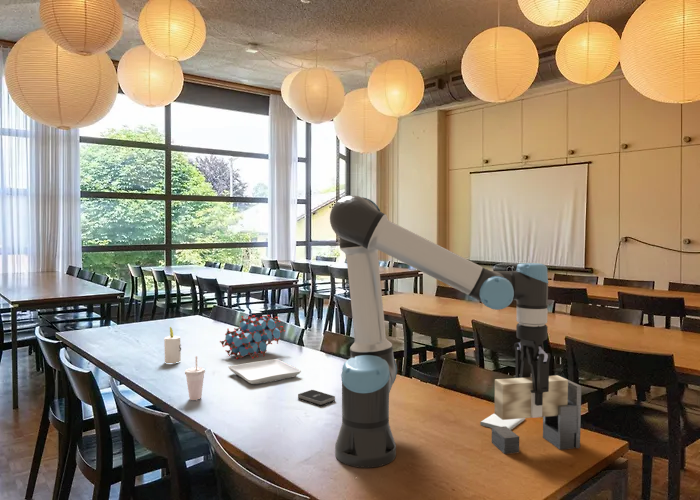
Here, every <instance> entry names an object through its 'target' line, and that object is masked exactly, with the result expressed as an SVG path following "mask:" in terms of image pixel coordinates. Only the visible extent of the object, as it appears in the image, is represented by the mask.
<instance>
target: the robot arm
mask: <svg viewBox="0 0 700 500" xmlns="http://www.w3.org/2000/svg"><path fill="white" fill-rule="evenodd" d="M329 223H330V226H331V229H332V230H333V232H334V233H335V234H336V235H337V236H338V241H339V249H340V251H342V252H343V253H344V254H345V256H346V265H347V276H348V285H349V294H350V295H349V296H350V305H351V315H352V316H351V317H352V324H353V336H354V337H353V338H354V342H353V343H352V344H351V346H350V348H349V352H350V358H348V359H347V360H345V362H344V363H343V365H342V368H341V369H342V370H341V374H340V376H341V418H342V419H341V425H340V428H339V432H338V436H337V438H336V441H335V447H334V455H335V458H336V459H337V460H338V461H339V462H341V463H342V464H345V465H347V466H351V467H355V468H378V467H382V466H386V465H388V464H390V463H392V462H393V461H394V460H395V459H396V456H397V445H396V441H395V440H394V439H395V438H394V435H393V433H392V429H391V426H390V393H391V390H392V387H393V385H394V383H395V381H396V378H397V374H398V366H397V362H396V360H395V357H394V350H393V349H394V348H393V343H392V342H390V340H388V339H387V335H386V325H385V323H386V321H385V314H384V303H383V295H382V284H381V283H382V281H381V274H380V273H381V272H380V263H379V251H380V252H381V253H383V254H385V255H388V256H390V257H391V258H394V259H396V260H397V261H400V262H402V263H404V264H406V265H408V266H409V267H412V268H413V269H415V270H417V271H420V272H421V273H423V274H426V275H428V276H429V277H431V278H433V279H436V280H437V281H440V282H442V283H443V284H446V285H447V286H450V287H452V288H453V289H455V290H458V291H459V292H461V293H463V294H465V295H468V296H469V297H470V299H472V300H477V301H479V302H480V303H482V304H483V306H485V307H487V308H489V309H492V310H494V311H495V310H499V311H500V310H503V309H506V308H508V307H509V306H510V305H511V304H512V302H513V301H516V317H515V318H516V322H517V324H516V327H515V328H516V331H515V332H516V338H517V339H519V340H520V341H519V342H515V343H514V346H513V347H514V350H515V378H525V377H532V384H533V390H530V391H531V417H532V418H536V419H537V418H543V417H542V404H543V392H548V391H549V376H550V360H551V358H552V355H551V353H549V352H547V353H546V351H544V350H545V349H544V342H545V341H546V340H547V339H548V330H549V329H548V325H547V324H548V313H549V311H548V304H549V303H548V298H549V277H548V276H549V273H548V266H547V265H545V264H544V263H537V262H536V263H535V262H526V263H525V262H523V263H522V262H520V263H518V264H517V265H516V270H509V271H508V270H507V271H506V270H504V271H503V270H489V269H487V268H485V267H483V266H481V265H479V264H477V263H476V262H474V261H471V260H469V259H467V258H466V257H463V256H462V255H459V254H457V253H455V252H453V251H451V250H449V249H447V248H445V247H442V246H441V245H439V244H437V243H436V242H433V241H431V240H428V239H426V238H424V237H423V236H421V235H419V234H417V233H415V232H413V231H411V230H409V229H406V228H405V227H404V226H403V227H402V226H401V225H399V224H396V223H394V222H393V221H390V220H389V219H388V215H387V214H386V213H384V212H382V211H381V209H380V207H379V206H378V204H376V202H374V201H373V200H371V199H370V198H367V197H363V196H362V197H361V196H359V195H346V196H344V197H341V198H340V199H338V200H337V201H336V202H335V204H333V206H332V208H331V210H330V213H329Z"/></svg>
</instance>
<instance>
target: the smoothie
mask: <svg viewBox="0 0 700 500" xmlns="http://www.w3.org/2000/svg"><path fill="white" fill-rule="evenodd" d="M194 358H195V367H189V368H187V369H185V370H184V375H186V376H185V377H186V384H187V390H188V398H189V400H190V399H191V400H196V401H198V400H197V399H200V398H201V399H202V396H203V394H202V393H203V385H204V378H205V377H204V375H205V374H206V369H205V368H204V367H199V366H198V356H197V355H195V357H194ZM201 399H200V400H201ZM191 400H190V401H191Z"/></svg>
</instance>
